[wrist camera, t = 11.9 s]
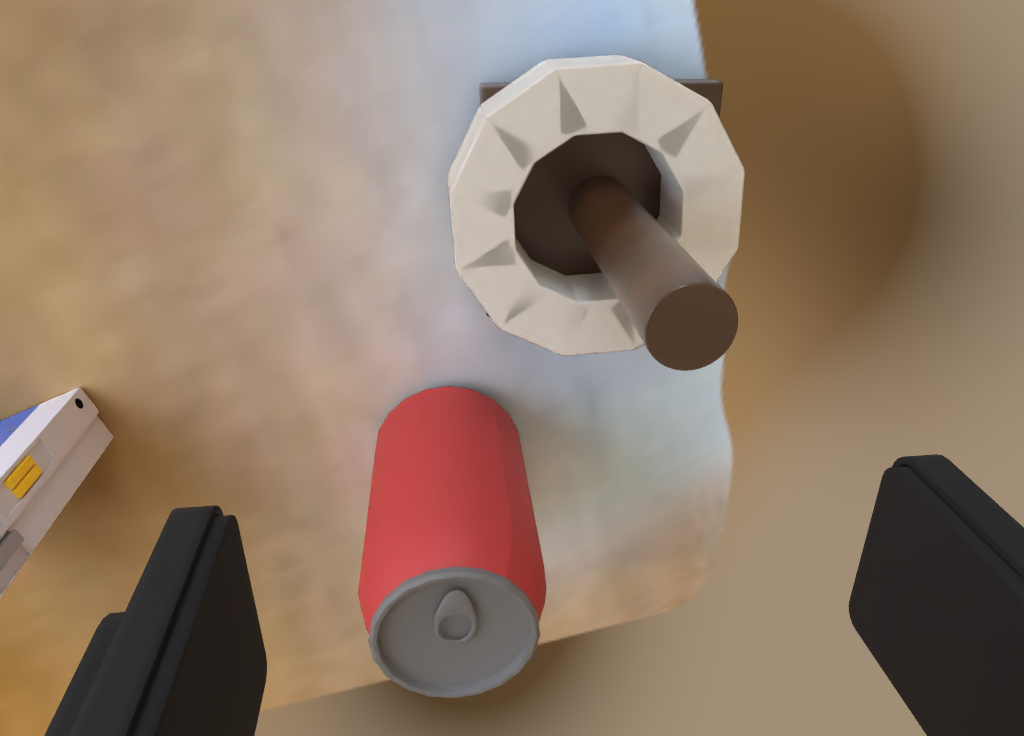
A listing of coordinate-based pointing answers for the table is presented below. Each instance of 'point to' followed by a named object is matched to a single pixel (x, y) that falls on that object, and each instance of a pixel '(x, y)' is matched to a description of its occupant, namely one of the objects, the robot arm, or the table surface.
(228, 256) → the table surface
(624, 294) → the spindle
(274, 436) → the table surface
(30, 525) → the walkman
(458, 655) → the beer can
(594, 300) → the tape roll
